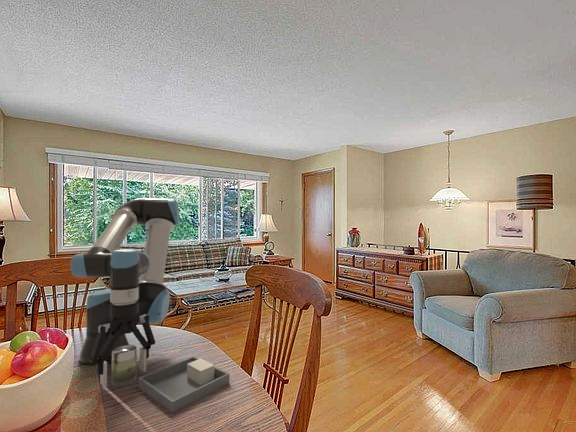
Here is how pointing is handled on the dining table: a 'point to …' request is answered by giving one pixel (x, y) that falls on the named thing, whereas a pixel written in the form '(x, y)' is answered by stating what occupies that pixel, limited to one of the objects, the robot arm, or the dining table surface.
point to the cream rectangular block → (200, 371)
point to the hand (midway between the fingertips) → (124, 377)
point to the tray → (179, 385)
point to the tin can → (124, 365)
